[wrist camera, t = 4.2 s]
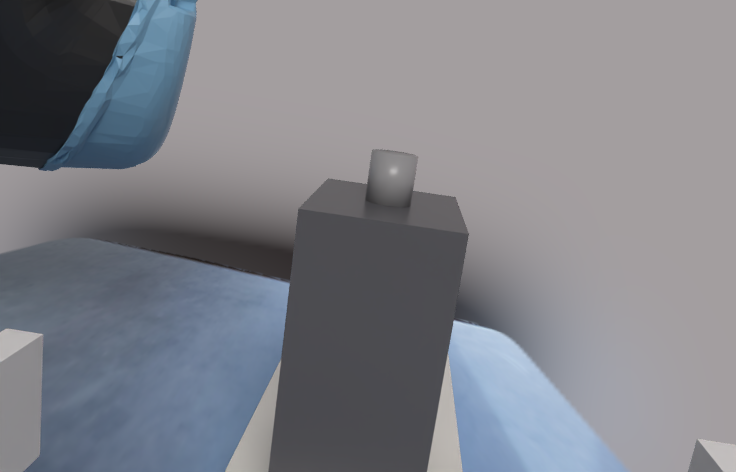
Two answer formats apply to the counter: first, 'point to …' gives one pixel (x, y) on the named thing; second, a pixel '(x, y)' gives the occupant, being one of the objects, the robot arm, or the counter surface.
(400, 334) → the grey block with knob
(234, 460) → the power strip
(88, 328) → the counter surface
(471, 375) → the counter surface
